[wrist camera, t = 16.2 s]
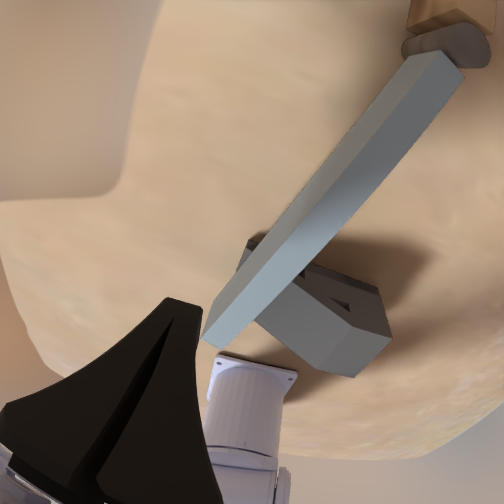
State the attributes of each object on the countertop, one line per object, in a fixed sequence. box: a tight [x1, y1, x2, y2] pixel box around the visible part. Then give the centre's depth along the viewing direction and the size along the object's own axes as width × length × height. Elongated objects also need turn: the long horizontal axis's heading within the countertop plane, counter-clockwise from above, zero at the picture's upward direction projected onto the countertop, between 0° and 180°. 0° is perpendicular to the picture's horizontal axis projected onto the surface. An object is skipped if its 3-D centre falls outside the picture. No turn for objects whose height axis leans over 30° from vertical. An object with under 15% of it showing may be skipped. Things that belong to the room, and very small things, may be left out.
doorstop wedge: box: [236, 240, 393, 378], centre depth 18 cm, size 10×4×5 cm, turn 71°
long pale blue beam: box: [200, 50, 465, 350], centre depth 13 cm, size 19×2×4 cm, turn 147°
